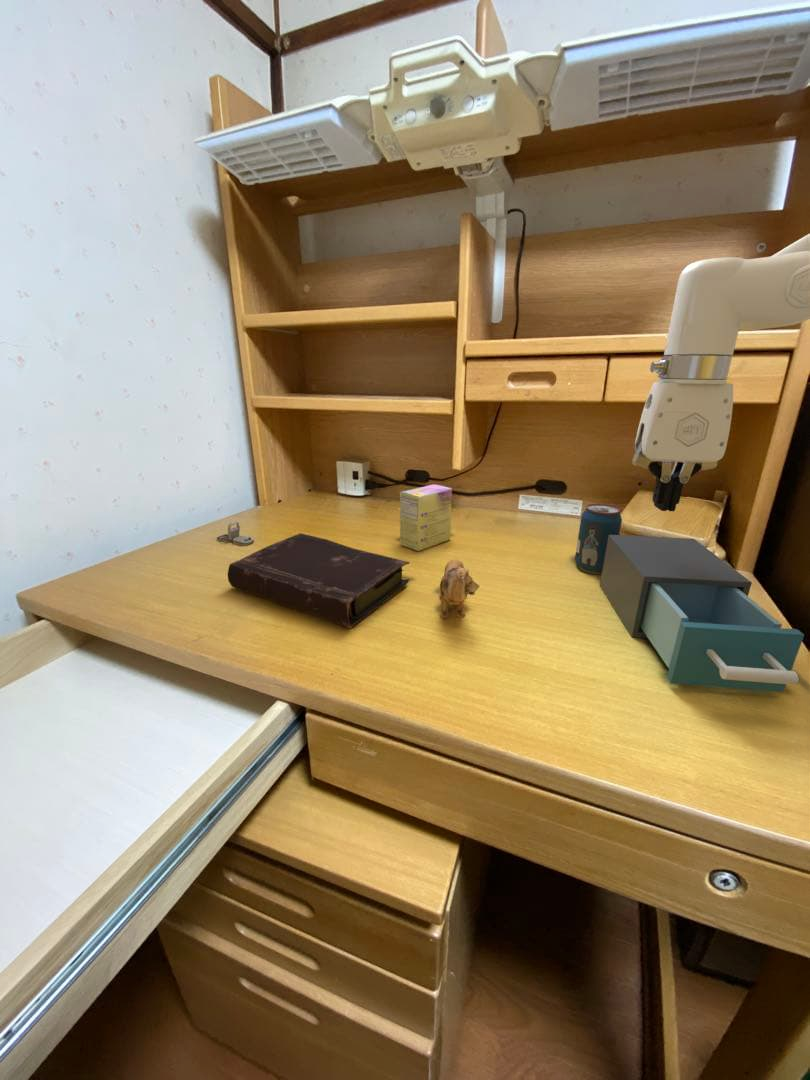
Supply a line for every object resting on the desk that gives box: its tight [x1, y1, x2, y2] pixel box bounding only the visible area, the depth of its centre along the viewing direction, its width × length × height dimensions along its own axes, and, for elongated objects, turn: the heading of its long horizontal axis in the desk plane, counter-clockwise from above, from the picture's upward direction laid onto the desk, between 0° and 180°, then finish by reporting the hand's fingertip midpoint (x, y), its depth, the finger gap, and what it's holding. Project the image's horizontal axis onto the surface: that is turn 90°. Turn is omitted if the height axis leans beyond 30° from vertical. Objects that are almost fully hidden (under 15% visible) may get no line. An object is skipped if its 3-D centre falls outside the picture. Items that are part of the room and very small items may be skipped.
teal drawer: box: [640, 582, 805, 693], centre depth 58 cm, size 20×12×8 cm, turn 173°
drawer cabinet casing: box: [599, 534, 752, 639], centre depth 71 cm, size 17×14×10 cm
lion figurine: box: [438, 558, 480, 619], centre depth 72 cm, size 15×5×9 cm, turn 3°
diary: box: [226, 533, 410, 629], centre depth 79 cm, size 19×25×5 cm
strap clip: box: [216, 521, 255, 546], centre depth 99 cm, size 8×3×4 cm, turn 65°
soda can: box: [574, 503, 623, 575], centre depth 86 cm, size 7×7×12 cm
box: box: [399, 483, 453, 552], centre depth 98 cm, size 10×6×12 cm, turn 134°
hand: (663, 508), depth 65 cm, fingers closed
